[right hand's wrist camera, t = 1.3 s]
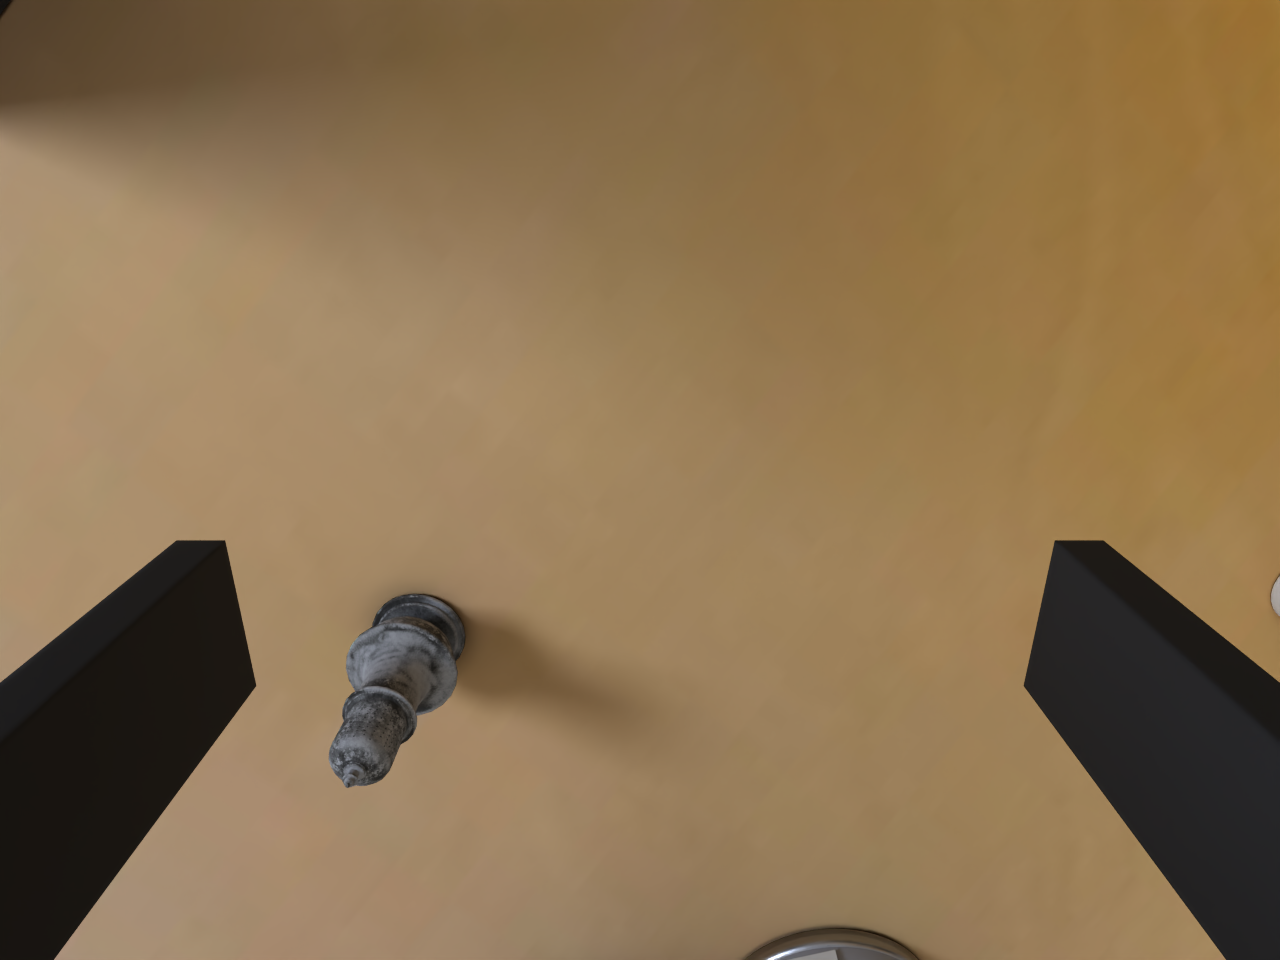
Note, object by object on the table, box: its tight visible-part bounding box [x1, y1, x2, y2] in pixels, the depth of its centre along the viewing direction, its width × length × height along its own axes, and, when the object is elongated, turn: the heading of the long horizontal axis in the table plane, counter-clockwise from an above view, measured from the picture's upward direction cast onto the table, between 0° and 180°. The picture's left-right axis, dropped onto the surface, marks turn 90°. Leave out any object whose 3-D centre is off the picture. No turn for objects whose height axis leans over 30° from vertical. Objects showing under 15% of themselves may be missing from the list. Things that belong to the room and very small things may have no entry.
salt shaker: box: [329, 594, 465, 788], centre depth 40 cm, size 6×6×12 cm
